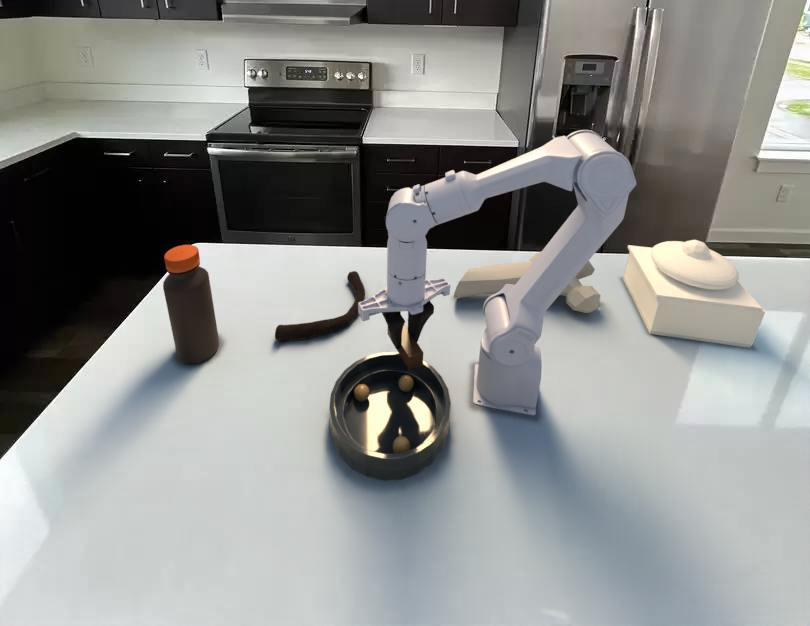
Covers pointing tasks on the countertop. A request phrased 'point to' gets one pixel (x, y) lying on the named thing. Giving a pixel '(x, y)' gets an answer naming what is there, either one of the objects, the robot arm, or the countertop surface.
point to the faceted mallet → (500, 275)
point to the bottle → (190, 305)
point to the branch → (326, 325)
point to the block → (409, 349)
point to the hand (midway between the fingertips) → (404, 341)
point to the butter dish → (691, 294)
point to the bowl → (389, 416)
